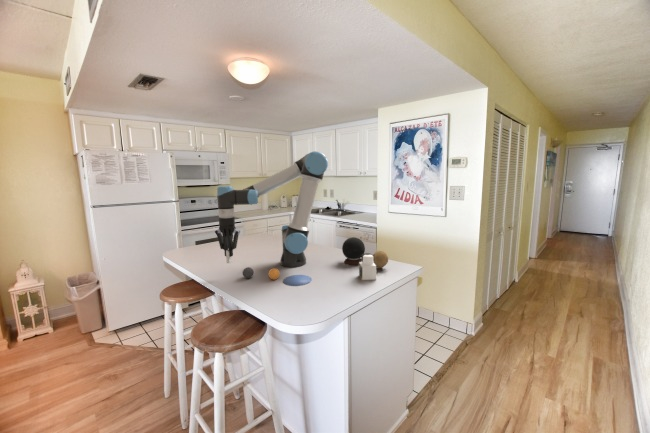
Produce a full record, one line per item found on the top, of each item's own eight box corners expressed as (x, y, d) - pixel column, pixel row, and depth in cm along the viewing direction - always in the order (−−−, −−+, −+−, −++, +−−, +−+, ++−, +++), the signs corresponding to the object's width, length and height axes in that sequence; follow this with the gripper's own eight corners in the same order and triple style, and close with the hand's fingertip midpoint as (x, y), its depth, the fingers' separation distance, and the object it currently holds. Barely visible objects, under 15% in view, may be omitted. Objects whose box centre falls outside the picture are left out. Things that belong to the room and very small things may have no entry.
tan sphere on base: (390, 271, 151) (390, 252, 149) (373, 271, 150) (373, 253, 149) (385, 265, 160) (385, 248, 158) (369, 266, 159) (369, 249, 158)
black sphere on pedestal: (339, 265, 163) (339, 239, 161) (345, 258, 175) (345, 234, 173) (362, 267, 158) (362, 240, 156) (367, 260, 170) (367, 235, 168)
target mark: (314, 275, 147) (314, 275, 147) (307, 286, 133) (307, 286, 133) (288, 274, 149) (288, 274, 149) (279, 285, 136) (279, 284, 136)
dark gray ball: (255, 276, 148) (255, 266, 148) (251, 280, 143) (250, 269, 142) (245, 275, 149) (245, 265, 149) (240, 279, 144) (240, 269, 143)
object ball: (281, 277, 146) (280, 267, 145) (277, 281, 140) (277, 270, 140) (271, 276, 147) (270, 266, 146) (267, 280, 141) (266, 270, 141)
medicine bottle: (359, 275, 146) (358, 252, 144) (372, 274, 146) (372, 251, 145) (362, 280, 139) (361, 256, 137) (376, 279, 139) (376, 255, 138)
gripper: (210, 217, 141) (213, 264, 144) (234, 218, 138) (237, 265, 142) (218, 215, 148) (221, 259, 152) (242, 216, 146) (244, 260, 149)
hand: (229, 262), depth 147 cm, fingers closed
